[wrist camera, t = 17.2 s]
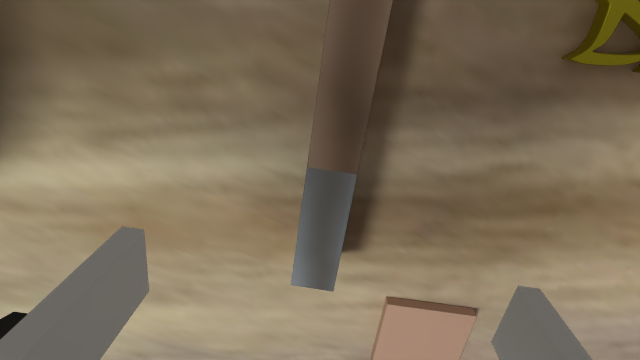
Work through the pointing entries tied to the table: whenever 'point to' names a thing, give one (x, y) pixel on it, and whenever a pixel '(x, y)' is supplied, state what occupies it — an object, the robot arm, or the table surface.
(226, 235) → the table surface
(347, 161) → the brown and grey bar
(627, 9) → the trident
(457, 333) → the tile
